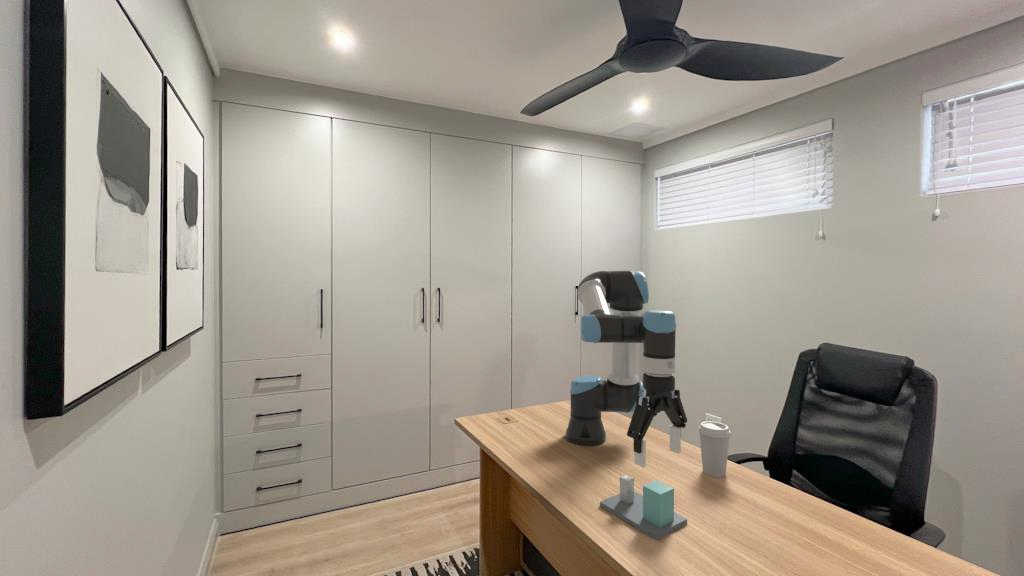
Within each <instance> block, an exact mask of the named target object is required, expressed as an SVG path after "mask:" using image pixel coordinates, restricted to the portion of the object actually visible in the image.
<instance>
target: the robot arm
mask: <svg viewBox="0 0 1024 576" xmlns="http://www.w3.org/2000/svg"><path fill="white" fill-rule="evenodd" d="M576 294H577V298H578V301H579V302H580V303H581V304H582V308H583V312H584V315H582V316H581V318H580V339H581V340H582V342H583V343H593V344H597V343H598V344H600V343H605V344H606V343H607V344H609V343H611V344H612V351H611V352H612V355H611V356H612V357H611V372H610V373H608V374H607V377H606V379H607V380H602V377H601V376H599V375H592V374H591V375H582V376H579V377H575V378H574V379H572V381H570V390H569V394H570V418H569V421H568V425H567V428H566V430H565V438H566V440H567V441H569V442H570V443H573V444H577V445H581V446H596V445H601V444H603V443H605V442H606V440H607V434H606V431H605V427H604V423H603V421H602V413H603V412H605V413H625V414H629V413H633V414H632V416H631V420H630V422H629V426H628V430H627V432H626V435H627V437H629V438H632V439H633V452H634V457H633V458H634V464H635V465H637V466H639V467H641V468H645V467H646V464H647V463H646V462H647V461H646V459H647V458H646V457H647V456H646V455H647V454H646V453H647V451H646V450H647V449H646V448H647V445H646V444H647V440H646V439H644V438H645V435H646V434H647V431H648V429H649V427H650V425H651V424H652V421H653V419H654V417H656V416H657V415H658V414H659V413H661V412H664V414H665V415H666V416H667V418H668V419H669V421H670V423H671V424H670V425H669V451H671V452H673V453H674V454H678V455H680V454H681V452H682V451H681V450H682V449H681V448H682V447H681V445H682V444H681V443H682V441H681V440H682V429H685V428H686V426H687V425H686V424H687V422H688V418H687V415H686V413H685V408H684V406H683V403H682V400H681V399H682V398H681V391H680V389H678V388H676V376H675V375H674V374H675V373H676V335H677V334H676V331H677V324H676V323H677V322H676V314H675V313H674V312H673V311H670V310H658V309H657V310H655V309H654V310H647V311H644V313H642V314H639V313H640V312H641V311H643V309H644V305H646V304H648V303H649V299H650V296H649V294H650V292H649V285H648V282H647V278H646V275H645V274H644V272H642V271H638V270H637V271H636V270H598V271H596V272H593V273H590V274H588V275H587V276H585V277H584V278H583V279H582V280H581V281H580V282H579V284H578V286H577V291H576ZM611 311H612V312H613V314H612V313H611ZM638 344H642V349H643V351H642V353H643V354H642V371H643V372H644V373H642V381H641V380H640V377H639V376H638V375H637V374H636V367H637V365H636V364H637V345H638ZM644 390H645V393H644ZM644 394H645V395H644Z"/></svg>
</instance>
